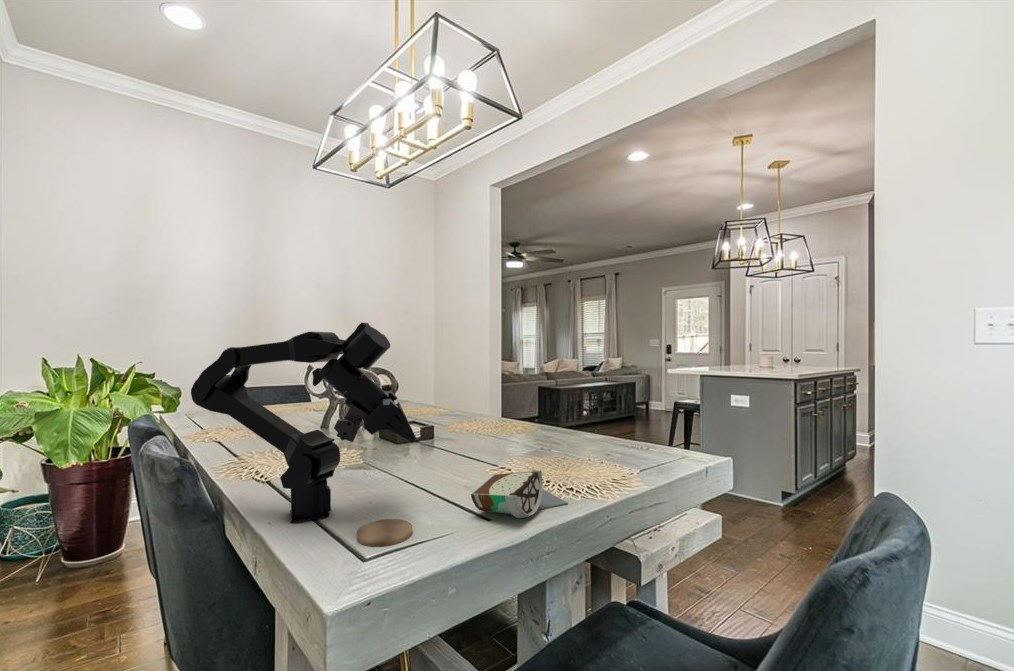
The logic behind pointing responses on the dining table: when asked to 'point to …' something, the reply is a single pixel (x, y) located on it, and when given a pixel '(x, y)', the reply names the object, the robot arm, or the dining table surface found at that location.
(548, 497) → the rubber mat
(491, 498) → the food container
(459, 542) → the dining table surface
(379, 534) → the walnut coaster
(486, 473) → the dining table surface
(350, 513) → the dining table surface
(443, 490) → the dining table surface
